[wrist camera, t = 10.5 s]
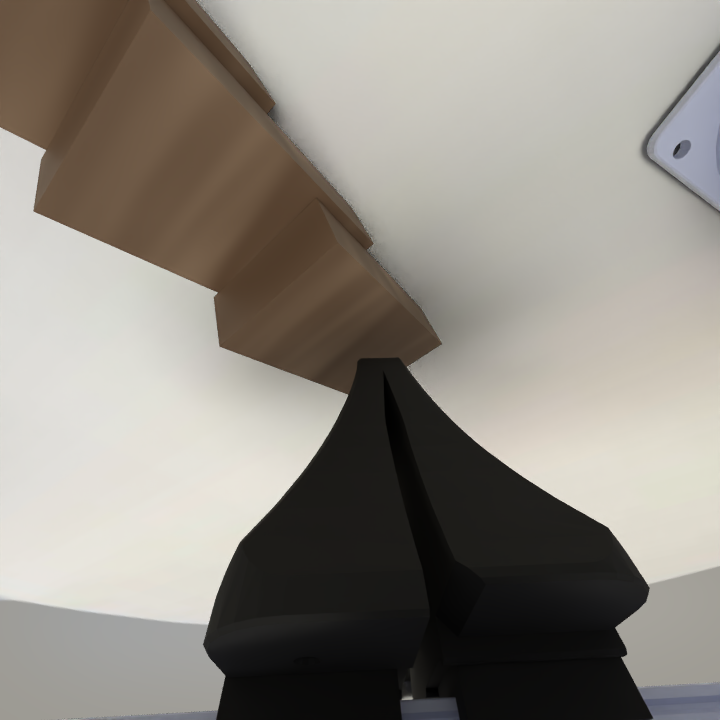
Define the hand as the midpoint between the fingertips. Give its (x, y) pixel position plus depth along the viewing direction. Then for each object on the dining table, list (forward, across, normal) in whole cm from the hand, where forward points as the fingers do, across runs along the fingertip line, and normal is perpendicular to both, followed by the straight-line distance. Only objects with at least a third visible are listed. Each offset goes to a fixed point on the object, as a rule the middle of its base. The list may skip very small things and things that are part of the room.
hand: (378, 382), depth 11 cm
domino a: (+3, -1, +1) cm, 4 cm away
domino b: (+4, +2, -3) cm, 5 cm away
